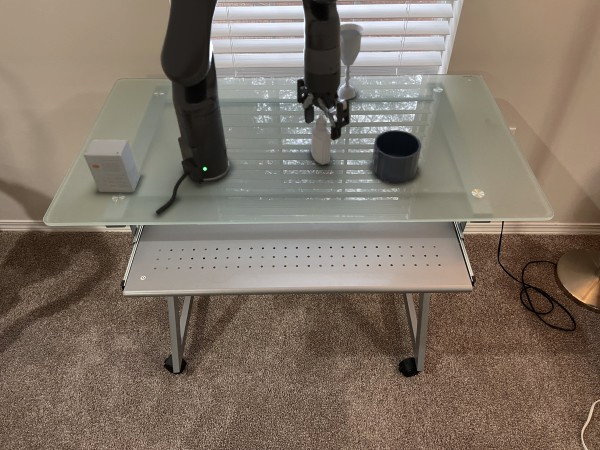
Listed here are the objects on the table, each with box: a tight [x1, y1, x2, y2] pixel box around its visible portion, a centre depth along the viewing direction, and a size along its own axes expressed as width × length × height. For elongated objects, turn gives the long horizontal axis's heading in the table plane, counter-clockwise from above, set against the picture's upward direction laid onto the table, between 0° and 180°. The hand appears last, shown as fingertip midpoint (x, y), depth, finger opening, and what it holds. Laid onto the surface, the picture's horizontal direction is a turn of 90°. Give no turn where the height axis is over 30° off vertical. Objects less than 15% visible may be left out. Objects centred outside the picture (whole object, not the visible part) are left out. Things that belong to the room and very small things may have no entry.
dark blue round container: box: [371, 129, 422, 184], centre depth 113 cm, size 10×10×7 cm
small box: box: [83, 139, 141, 193], centre depth 109 cm, size 8×6×10 cm
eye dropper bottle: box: [310, 113, 332, 166], centre depth 114 cm, size 4×6×12 cm
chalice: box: [337, 23, 364, 100], centre depth 131 cm, size 7×7×18 cm
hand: (322, 130), depth 113 cm, fingers open, 8 cm apart
